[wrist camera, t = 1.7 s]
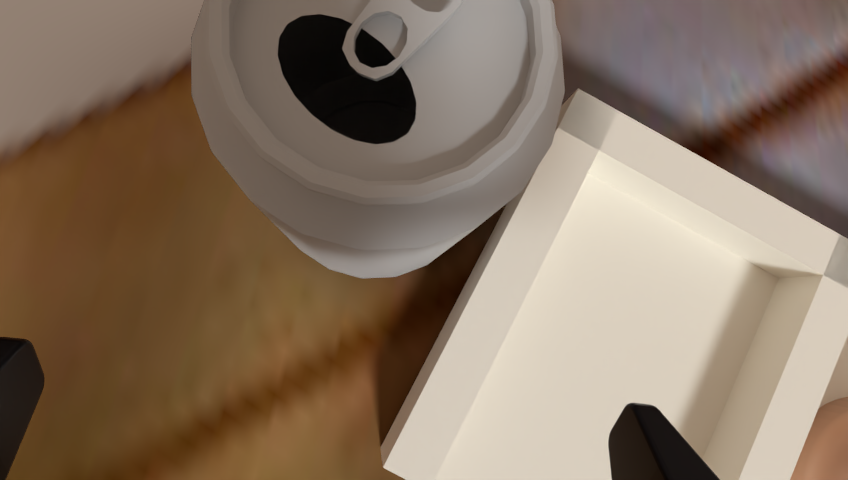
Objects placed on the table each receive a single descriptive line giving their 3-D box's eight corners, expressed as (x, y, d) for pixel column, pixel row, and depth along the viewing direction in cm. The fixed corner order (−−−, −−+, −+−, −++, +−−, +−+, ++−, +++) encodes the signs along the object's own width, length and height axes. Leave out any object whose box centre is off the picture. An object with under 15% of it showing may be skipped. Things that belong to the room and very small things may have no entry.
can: (227, 183, 21) (58, 22, 10) (368, 43, 23) (374, -254, 11) (379, 323, 21) (400, 336, 9) (513, 176, 23) (680, 24, 11)
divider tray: (927, 737, 21) (1007, 797, 19) (380, 447, 21) (383, 467, 18) (1044, 387, 24) (1131, 397, 21) (553, 114, 23) (578, 88, 20)
